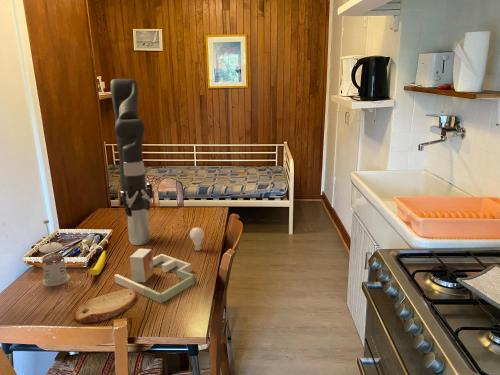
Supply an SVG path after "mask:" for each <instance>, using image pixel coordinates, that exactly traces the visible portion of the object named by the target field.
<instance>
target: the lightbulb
mask: <svg viewBox="0 0 500 375" xmlns="http://www.w3.org/2000/svg"><path fill="white" fill-rule="evenodd" d="M204 236H205V232H204V230H203V229H202V228H201V227H198V226H197V227H196V226H195V227H193V228H192V229H191V230H190V231H189V237H190V239H191V241H192V243H193V245H194V250H195V251H197V252H199V251H200V250H202V249H201V248H202V247H201V244H202V240H203V239H204Z"/></svg>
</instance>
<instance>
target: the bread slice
mask: <svg viewBox="0 0 500 375" xmlns="http://www.w3.org/2000/svg"><path fill="white" fill-rule="evenodd" d="M137 300H138V293H137V292H135V291H133V290H132V289H129V288H124V289H118V290H116V291H112V292H108V293H106V294H103V295H99V296H97V297H94V298H91V299H88V300H87V301H86V300H85V301H84V302H83V303H81V304H80V305H79V306H78V307H77V309H76V310H75V313H74V317H73V318H74V319H73V320H74V322H75V323H77V324H79V325H80V324H81V325H83V324H87V323H99V322H103V321H105V320H109V319H112V318H114V317H116V316H118V315H119V314H121V313H124V312H125V311H127V310H129V309H130V308H131V307H132V306H133V305H134V304H135V303H137Z"/></svg>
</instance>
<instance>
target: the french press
mask: <svg viewBox="0 0 500 375" xmlns="http://www.w3.org/2000/svg"><path fill="white" fill-rule="evenodd" d="M49 223H50V220H49V219H44V220H43V224H46V230H47V236H48V241H49V242H48V243H45V244H43V245H42V246H40V247H39V248H38V250H39V252H40V253H41V254H42V253H44V254H47V255H44V256H43V257H42V258H41V260H42V262H41V267H42V273H43V278H44V279H43V281H42V282H41V283H42V285H44V286H47V287H55V286H59V285H62V284H65V283H66V282H68V281H69V280H70V278H71V276H70V275H69V274H68V273H67V268H66V262H65V261H66V260H65V258H64V257H63V256H64V255H63V253H57V251H60V250H61V249H62V248H63V244H62V243H59V242H55V241H53V242H51V240H50V239H51V238H50V234H49V228H48V224H49Z"/></svg>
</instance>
